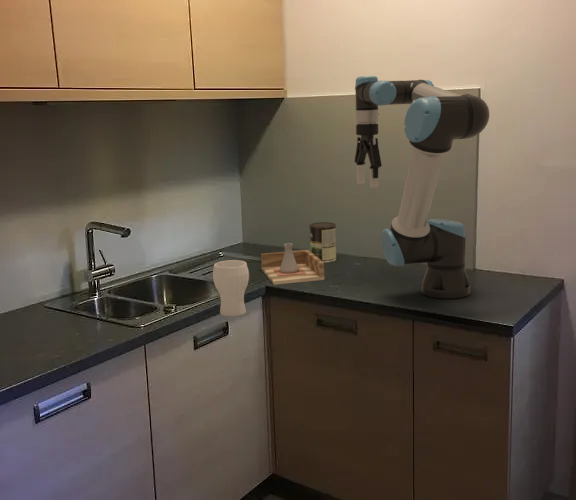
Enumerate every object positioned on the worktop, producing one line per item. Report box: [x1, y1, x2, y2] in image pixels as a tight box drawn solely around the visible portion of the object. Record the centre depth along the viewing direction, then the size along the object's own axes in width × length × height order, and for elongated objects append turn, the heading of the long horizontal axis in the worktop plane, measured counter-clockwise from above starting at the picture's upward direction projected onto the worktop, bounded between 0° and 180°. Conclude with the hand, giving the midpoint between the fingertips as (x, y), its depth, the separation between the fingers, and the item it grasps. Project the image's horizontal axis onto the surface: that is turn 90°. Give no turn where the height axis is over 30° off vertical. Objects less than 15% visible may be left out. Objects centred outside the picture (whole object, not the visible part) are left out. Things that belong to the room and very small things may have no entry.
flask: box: [279, 242, 299, 273], centre depth 238 cm, size 7×7×10 cm
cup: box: [212, 259, 250, 317], centre depth 197 cm, size 11×11×15 cm
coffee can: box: [308, 221, 337, 264], centre depth 258 cm, size 10×10×14 cm
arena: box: [260, 249, 325, 286], centre depth 239 cm, size 22×18×6 cm
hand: (367, 185), depth 229 cm, fingers open, 13 cm apart
